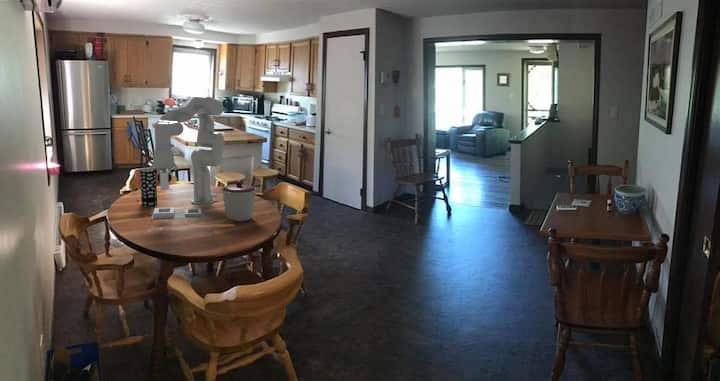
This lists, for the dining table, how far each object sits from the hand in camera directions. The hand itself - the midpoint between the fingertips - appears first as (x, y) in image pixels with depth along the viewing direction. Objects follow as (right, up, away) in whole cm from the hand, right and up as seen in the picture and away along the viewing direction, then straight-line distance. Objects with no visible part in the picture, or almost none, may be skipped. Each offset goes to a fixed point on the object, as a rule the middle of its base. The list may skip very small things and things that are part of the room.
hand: (164, 181), depth 275 cm
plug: (0, -4, +1) cm, 4 cm away
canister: (+37, -20, +7) cm, 43 cm away
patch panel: (+5, -19, +6) cm, 21 cm away
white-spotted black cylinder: (-19, -13, +28) cm, 36 cm away
